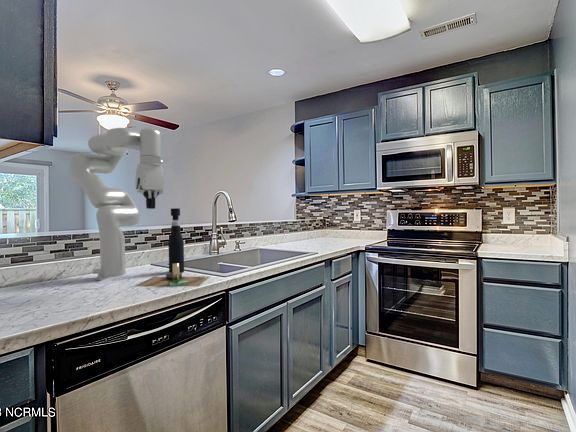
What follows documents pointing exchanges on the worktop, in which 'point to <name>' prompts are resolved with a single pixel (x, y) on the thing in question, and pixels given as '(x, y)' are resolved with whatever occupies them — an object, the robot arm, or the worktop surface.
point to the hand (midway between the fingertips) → (150, 208)
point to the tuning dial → (174, 273)
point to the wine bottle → (176, 243)
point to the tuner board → (182, 281)
